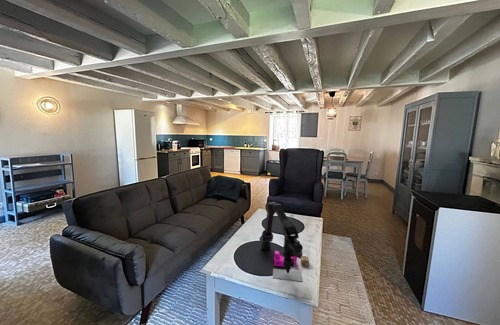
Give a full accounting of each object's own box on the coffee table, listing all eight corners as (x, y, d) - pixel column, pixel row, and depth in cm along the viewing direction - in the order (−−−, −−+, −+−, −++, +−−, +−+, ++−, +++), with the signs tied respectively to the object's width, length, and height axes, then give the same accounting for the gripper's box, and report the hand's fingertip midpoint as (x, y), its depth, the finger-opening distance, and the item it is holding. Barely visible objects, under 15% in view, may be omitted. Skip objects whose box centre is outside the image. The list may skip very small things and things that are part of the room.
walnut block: (301, 265, 140) (301, 259, 140) (300, 261, 145) (300, 255, 145) (308, 266, 139) (309, 260, 139) (307, 261, 144) (308, 256, 144)
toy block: (274, 266, 139) (274, 255, 138) (274, 260, 145) (274, 250, 144) (297, 268, 137) (297, 257, 136) (296, 262, 143) (296, 252, 142)
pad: (272, 278, 126) (272, 277, 126) (273, 269, 135) (273, 268, 135) (302, 281, 124) (302, 281, 124) (301, 272, 133) (301, 271, 133)
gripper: (303, 254, 117) (302, 279, 119) (300, 238, 135) (299, 260, 137) (284, 252, 118) (282, 277, 120) (283, 237, 137) (282, 259, 139)
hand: (287, 268), depth 129 cm, fingers open, 9 cm apart
